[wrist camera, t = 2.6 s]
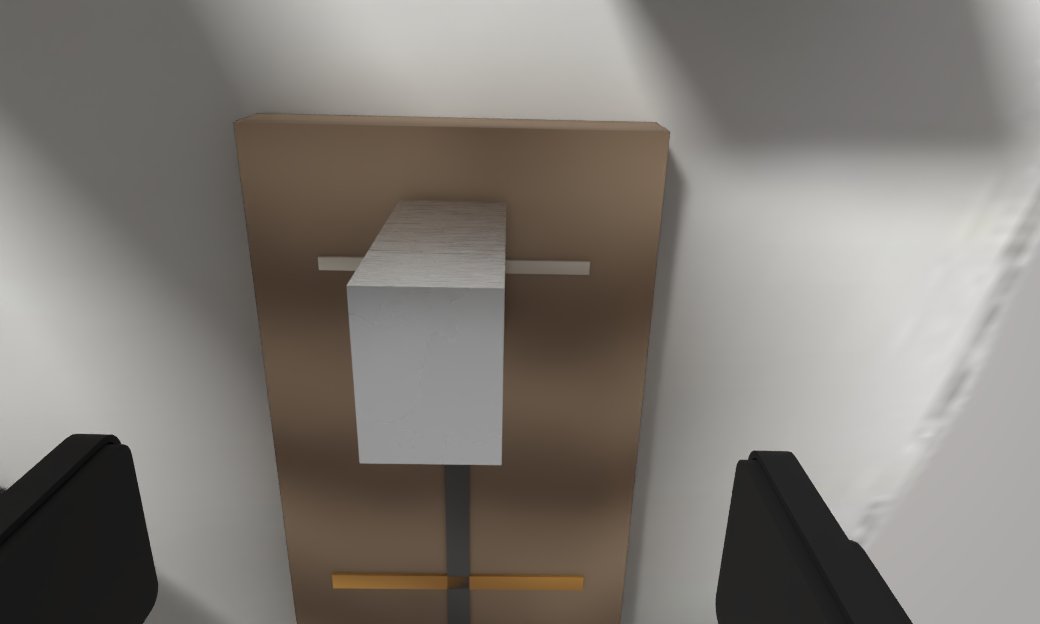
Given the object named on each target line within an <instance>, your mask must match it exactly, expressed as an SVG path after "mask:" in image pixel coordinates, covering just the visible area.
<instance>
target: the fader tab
mask: <svg viewBox="0 0 1040 624" xmlns="http://www.w3.org/2000/svg"><path fill="white" fill-rule="evenodd" d="M505 253H506V202H477V201H427V200H399V202H398V204H397V205H396V207H395V208H394V210H393V212H392V213H391V215H390V216H389V218H388V220H387V221H386V223H385V225H384V226H383V228H382V229H381V231H380V233H379V234H378V236H377V237H376V239H375V241H374V242H373V244H372V245H371V247H370V249H369V250H368V252H367V253H366V255H365V257H364V258H363V260H362V261H361V263H360V265H359V266H358V268H357V270H356V271H355V273H354V274H353V276H352V278H351V279H350V281H349V282H348V284H347V300H348V313H349V327H350V340H351V354H352V367H353V381H354V395H355V408H356V422H357V435H358V449H359V462H360V463H369V464H449V465H502V416H503V366H504V313H505Z"/></svg>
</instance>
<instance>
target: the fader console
mask: <svg viewBox="0 0 1040 624" xmlns="http://www.w3.org/2000/svg"><path fill="white" fill-rule="evenodd" d="M233 123H234V131H235V139H236V147H237V155H238V163H239V171H240V179H241V187H242V194H243V202H244V210H245V218H246V226H247V234H248V242H249V250H250V258H251V266H252V273H253V281H254V289H255V297H256V305H257V313H258V321H259V329H260V337H261V345H262V352H263V360H264V368H265V376H266V384H267V392H268V400H269V408H270V416H271V424H272V431H273V439H274V447H275V455H276V463H277V471H278V479H279V487H280V495H281V502H282V510H283V518H284V526H285V534H286V542H287V550H288V558H289V566H290V574H291V581H292V589H293V597H294V605H295V613H296V621H297V624H620V618H621V608H622V599H623V589H624V579H625V569H626V559H627V549H628V540H629V530H630V520H631V510H632V500H633V491H634V481H635V471H636V461H637V451H638V442H639V432H640V422H641V412H642V402H643V392H644V383H645V373H646V363H647V353H648V343H649V334H650V324H651V314H652V304H653V294H654V284H655V275H656V265H657V255H658V245H659V235H660V226H661V216H662V206H663V196H664V186H665V176H666V167H667V157H668V147H669V137H670V131H668V130H667V129H665V128H664V127H662V126H661V125H659V124H658V123H657V122H620V121H576V120H532V119H488V118H444V117H400V116H356V115H312V114H268V113H257V114H254V115H251V116H249V117H246V118H243V119H240V120H237V121H235V122H233ZM399 200H427V201H477V202H506V253H505V313H504V366H503V416H502V465H449V464H369V463H360V462H359V449H358V435H357V422H356V408H355V395H354V381H353V367H352V354H351V340H350V327H349V313H348V300H347V284H348V282H349V281H350V279H351V278H352V276H353V274H354V273H355V271H356V270H357V268H358V266H359V265H360V263H361V261H362V260H363V258H364V257H365V255H366V253H367V252H368V250H369V249H370V247H371V245H372V244H373V242H374V241H375V239H376V237H377V236H378V234H379V233H380V231H381V229H382V228H383V226H384V225H385V223H386V221H387V220H388V218H389V216H390V215H391V213H392V212H393V210H394V208H395V207H396V205H397V204H398V202H399Z"/></svg>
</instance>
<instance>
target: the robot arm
mask: <svg viewBox="0 0 1040 624" xmlns="http://www.w3.org/2000/svg"><path fill="white" fill-rule="evenodd" d="M157 593H158V581H157V576H156V571H155V566H154V561H153V556H152V552H151V547H150V542H149V537H148V532H147V527H146V522H145V517H144V512H143V507H142V502H141V497H140V492H139V487H138V482H137V478H136V473H135V468H134V463H133V458H132V453H131V450H130V449H129V447H128V446H126V445H123V444H121V442H120V440H119V439H118V438H117V437H116V436H114V435H101V434H73V435H71V436H69V437H68V438H66V439H65V440H64V441H63V442H62V443H60V444H59V445H58V446H57V447H56V448H55V449H53V450H52V451H51V452H50V453H49V454H48V455H47V456H45V457H44V458H43V459H42V460H41V461H40V462H39V463H37V464H36V465H35V466H34V467H33V468H32V469H30V470H29V471H28V472H27V473H26V474H25V475H24V476H22V477H21V478H20V479H19V480H18V481H17V482H16V483H14V484H13V485H12V486H11V487H10V488H9V489H7V490H6V491H5V492H4V493H3V494H2V495H1V496H0V624H143V622H144V621H145V619H146V618H147V616H148V615H149V613H150V612H151V610H152V608H153V606H154V604H155V601H156V598H157ZM716 614H717V620H718V624H913V623H912V622H911V620H910V619H909V617H908V616H907V614H906V613H905V611H904V610H903V608H902V607H901V605H900V604H899V602H898V601H897V599H896V598H895V596H894V595H893V593H892V592H891V590H890V589H889V587H888V585H887V584H886V582H885V581H884V580H883V578H882V576H881V575H880V573H879V572H878V570H877V569H876V567H875V566H874V564H873V563H872V561H871V560H870V559H869V557H868V555H867V554H866V552H865V551H864V550H863V548H862V547H861V546H860V545H859V544H858V543H856V542H854V541H852V540H849V539H848V538H847V536H846V535H845V533H844V532H843V530H842V528H841V527H840V525H839V524H838V522H837V521H836V519H835V518H834V516H833V514H832V513H831V511H830V510H829V508H828V507H827V505H826V504H825V502H824V500H823V499H822V497H821V496H820V494H819V493H818V491H817V490H816V488H815V487H814V485H813V483H812V482H811V480H810V479H809V477H808V476H807V474H806V473H805V471H804V469H803V468H802V466H801V465H800V463H799V462H798V460H797V459H796V457H795V456H794V455H793V453H792V452H788V451H752V452H751V454H750V456H749V458H748V460H739V461H738V463H737V467H736V472H735V478H734V485H733V491H732V497H731V504H730V510H729V516H728V523H727V529H726V536H725V542H724V548H723V555H722V561H721V567H720V574H719V580H718V587H717V593H716Z"/></svg>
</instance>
